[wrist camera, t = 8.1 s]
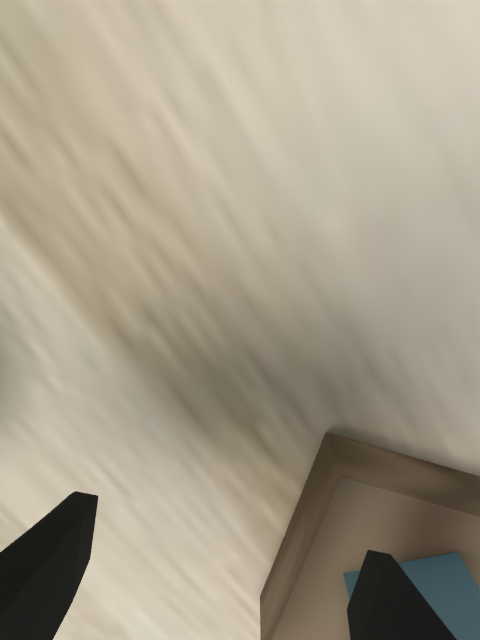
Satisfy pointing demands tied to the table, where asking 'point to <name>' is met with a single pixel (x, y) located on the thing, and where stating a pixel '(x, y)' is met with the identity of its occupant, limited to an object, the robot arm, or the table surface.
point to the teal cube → (443, 591)
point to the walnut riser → (363, 532)
